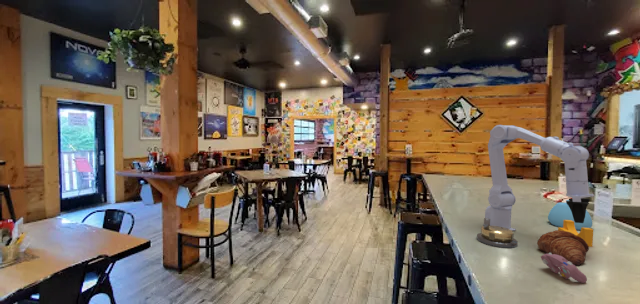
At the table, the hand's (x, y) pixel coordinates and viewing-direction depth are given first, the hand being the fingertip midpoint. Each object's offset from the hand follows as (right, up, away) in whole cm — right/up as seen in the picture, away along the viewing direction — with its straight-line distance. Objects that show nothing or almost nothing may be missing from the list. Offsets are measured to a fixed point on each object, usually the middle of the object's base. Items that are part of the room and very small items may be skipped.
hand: (579, 220), depth 99 cm
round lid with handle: (-23, -8, +9) cm, 26 cm away
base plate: (-23, -10, +9) cm, 27 cm away
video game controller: (-21, -12, -17) cm, 29 cm away
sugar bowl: (+22, -10, +30) cm, 38 cm away
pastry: (-7, -11, -1) cm, 13 cm away
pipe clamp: (+8, -11, +11) cm, 17 cm away
